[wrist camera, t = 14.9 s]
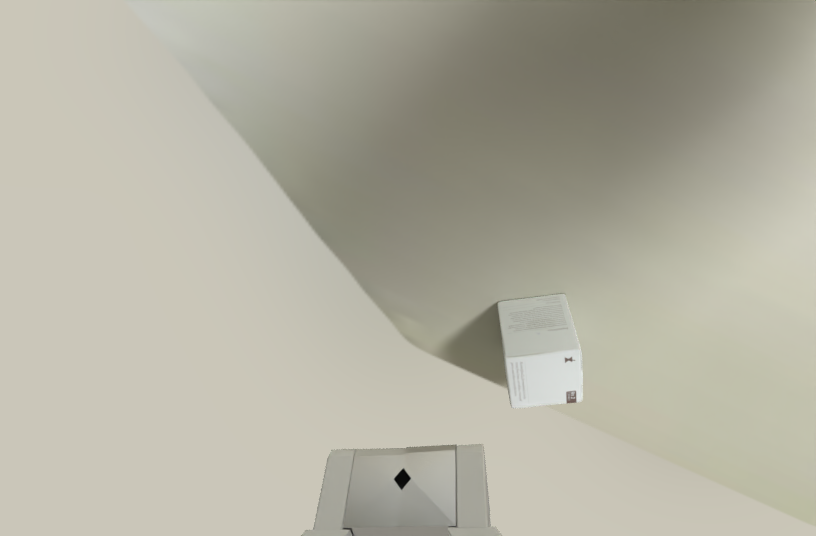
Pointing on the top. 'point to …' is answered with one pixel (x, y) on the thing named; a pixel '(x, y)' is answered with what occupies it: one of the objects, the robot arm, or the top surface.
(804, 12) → the top surface
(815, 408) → the top surface
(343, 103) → the top surface
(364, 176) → the top surface
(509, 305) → the skincare box
